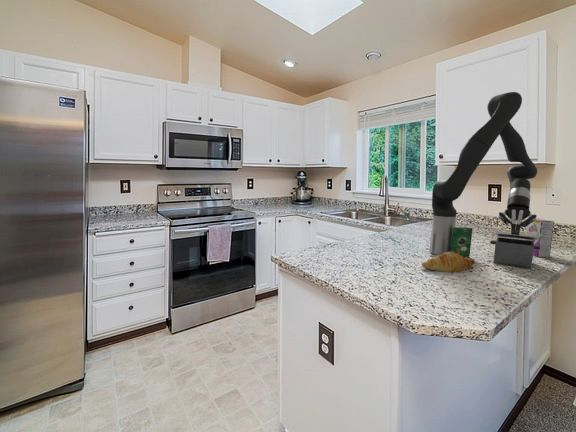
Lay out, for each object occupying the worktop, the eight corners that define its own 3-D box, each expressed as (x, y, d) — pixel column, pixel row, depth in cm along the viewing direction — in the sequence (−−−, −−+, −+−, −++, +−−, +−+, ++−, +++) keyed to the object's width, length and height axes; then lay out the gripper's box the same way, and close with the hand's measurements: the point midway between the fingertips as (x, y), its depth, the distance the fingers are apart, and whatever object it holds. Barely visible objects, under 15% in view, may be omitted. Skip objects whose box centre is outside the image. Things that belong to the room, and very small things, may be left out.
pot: (487, 262, 123) (489, 240, 122) (490, 256, 132) (492, 236, 131) (538, 270, 113) (541, 246, 112) (536, 263, 123) (539, 241, 121)
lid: (495, 231, 115) (495, 228, 115) (497, 236, 130) (497, 233, 130) (536, 235, 108) (537, 232, 108) (534, 240, 122) (534, 237, 122)
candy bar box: (522, 251, 143) (527, 216, 141) (535, 251, 142) (539, 217, 140) (537, 257, 132) (541, 220, 130) (550, 258, 131) (555, 220, 129)
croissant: (426, 281, 110) (433, 265, 106) (412, 261, 118) (419, 246, 114) (477, 277, 114) (486, 262, 109) (461, 258, 122) (469, 244, 117)
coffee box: (465, 255, 133) (467, 226, 132) (470, 257, 131) (473, 227, 129) (449, 256, 132) (452, 226, 130) (454, 258, 129) (457, 228, 127)
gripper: (499, 194, 129) (495, 226, 122) (539, 195, 121) (537, 230, 114) (499, 205, 134) (495, 236, 126) (537, 206, 126) (535, 241, 118)
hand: (515, 233), depth 120 cm, fingers closed
